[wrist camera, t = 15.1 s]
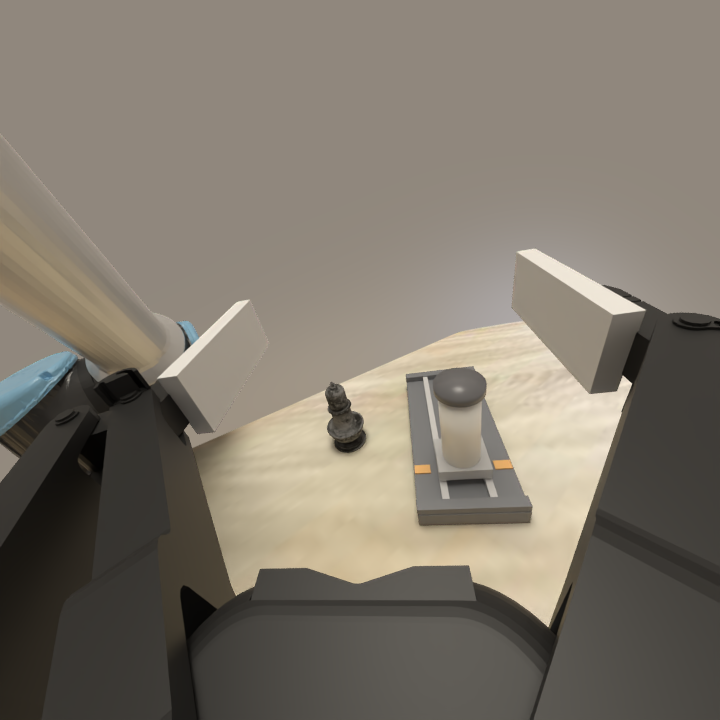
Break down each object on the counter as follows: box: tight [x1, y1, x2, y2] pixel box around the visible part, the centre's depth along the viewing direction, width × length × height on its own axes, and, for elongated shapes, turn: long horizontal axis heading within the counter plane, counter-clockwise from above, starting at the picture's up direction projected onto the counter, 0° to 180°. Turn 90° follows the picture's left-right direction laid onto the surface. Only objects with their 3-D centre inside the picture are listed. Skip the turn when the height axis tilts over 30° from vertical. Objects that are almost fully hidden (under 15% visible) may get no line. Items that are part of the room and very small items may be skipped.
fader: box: [433, 368, 493, 481], centre depth 33 cm, size 6×5×13 cm
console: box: [406, 366, 532, 525], centre depth 43 cm, size 12×26×3 cm, turn 175°
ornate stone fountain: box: [325, 382, 366, 453], centre depth 44 cm, size 6×6×12 cm
